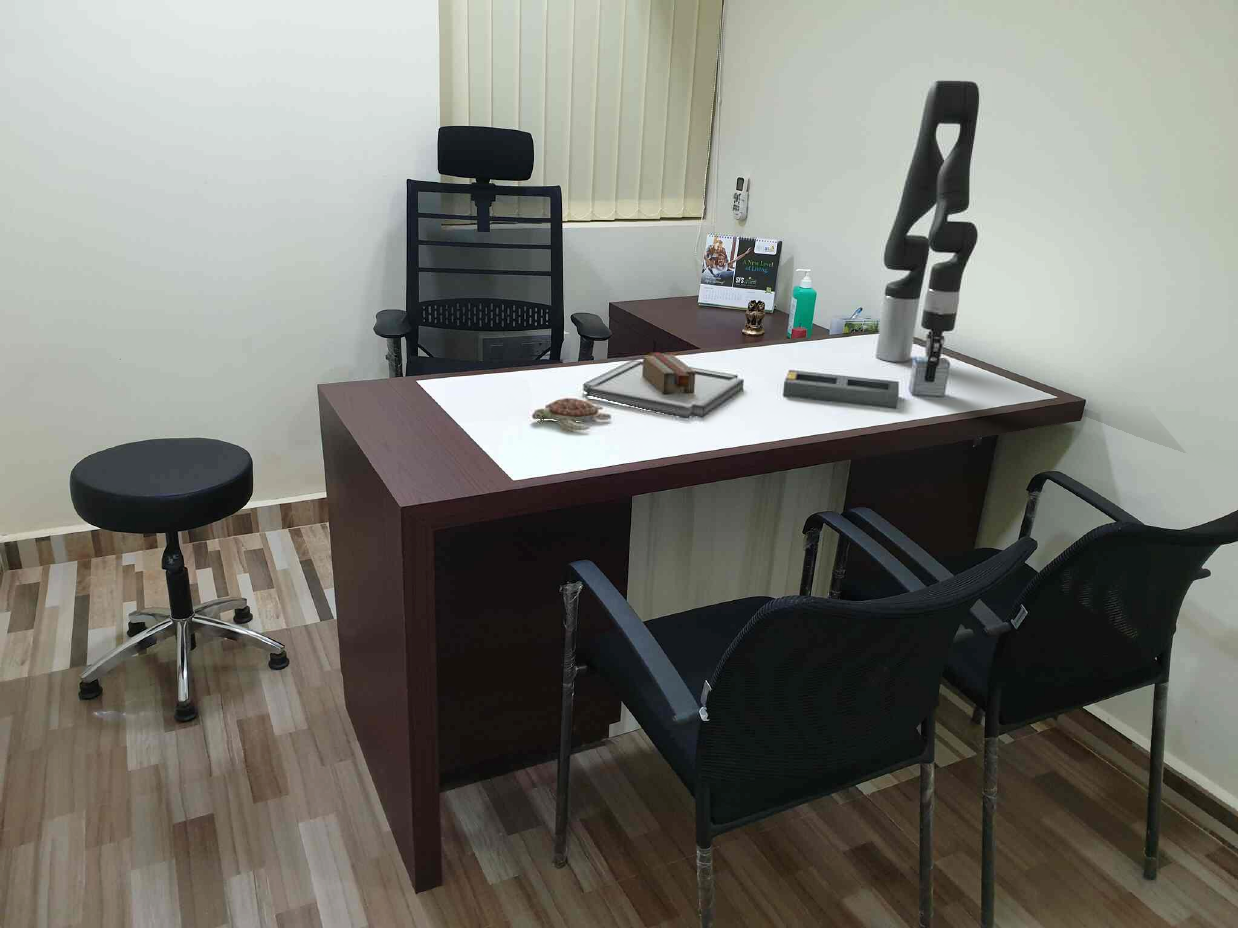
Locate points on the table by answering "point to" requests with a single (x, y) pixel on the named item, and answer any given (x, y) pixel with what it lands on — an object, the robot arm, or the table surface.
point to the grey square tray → (665, 386)
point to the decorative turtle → (570, 413)
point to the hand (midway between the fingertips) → (928, 378)
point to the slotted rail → (841, 389)
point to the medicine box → (918, 377)
